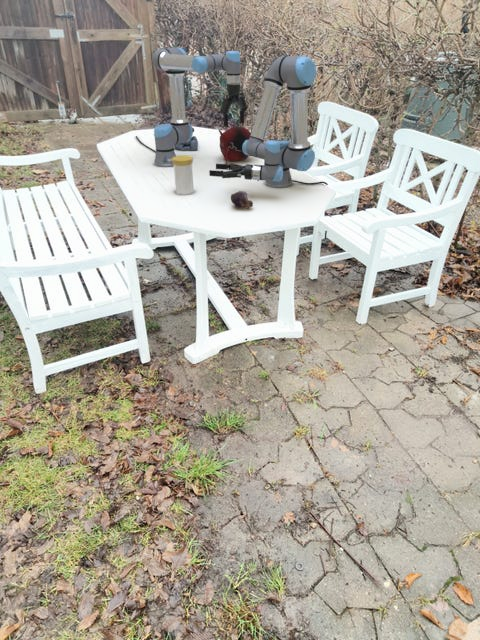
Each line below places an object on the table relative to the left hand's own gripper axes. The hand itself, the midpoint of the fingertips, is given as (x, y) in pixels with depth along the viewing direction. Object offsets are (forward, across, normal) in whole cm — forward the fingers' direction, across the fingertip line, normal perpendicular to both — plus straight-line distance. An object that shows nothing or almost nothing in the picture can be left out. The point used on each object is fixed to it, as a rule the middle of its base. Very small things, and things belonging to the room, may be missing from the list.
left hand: (234, 125), depth 259 cm
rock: (+28, -40, -42) cm, 64 cm away
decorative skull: (+28, +25, +21) cm, 43 cm away
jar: (+28, -43, -2) cm, 51 cm away
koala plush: (+28, +22, +69) cm, 78 cm away
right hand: (+14, -36, -18) cm, 43 cm away
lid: (+10, -43, -2) cm, 44 cm away
